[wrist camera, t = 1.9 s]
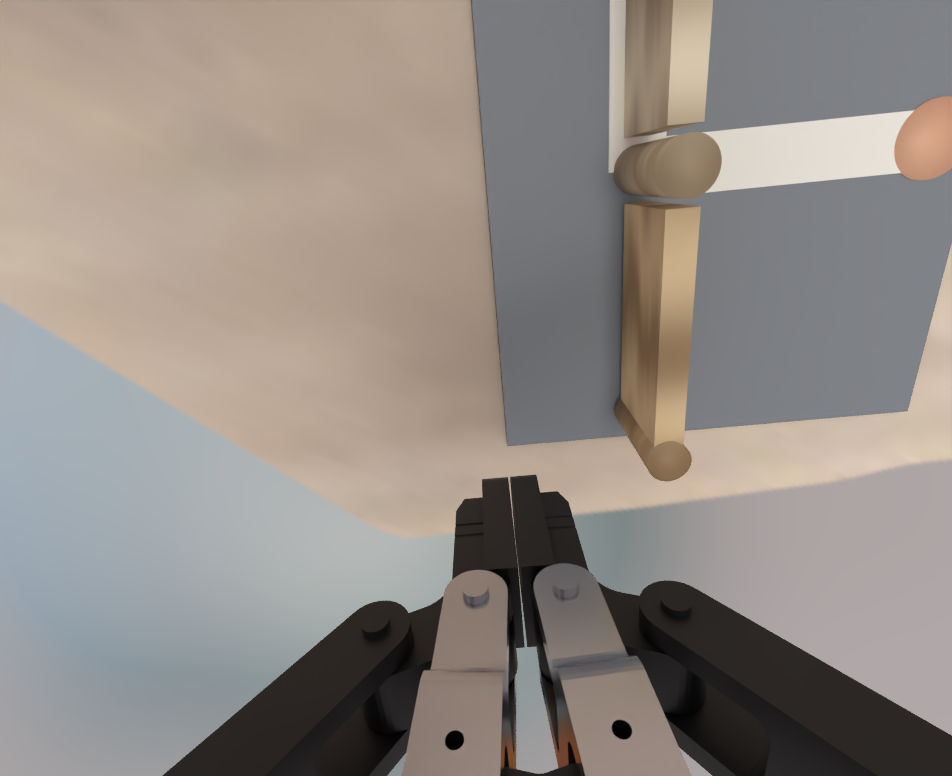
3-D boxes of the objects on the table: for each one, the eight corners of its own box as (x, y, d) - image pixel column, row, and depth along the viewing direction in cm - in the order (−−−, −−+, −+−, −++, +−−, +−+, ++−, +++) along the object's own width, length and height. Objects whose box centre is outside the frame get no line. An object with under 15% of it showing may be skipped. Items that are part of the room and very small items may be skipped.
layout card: (453, -221, 17) (452, -232, 17) (1082, -301, 17) (1101, -315, 16) (507, 442, 27) (507, 447, 27) (901, 407, 26) (909, 412, 26)
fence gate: (617, 204, 22) (658, 210, 17) (658, 200, 22) (712, 205, 17) (614, 427, 26) (647, 483, 21) (649, 423, 26) (690, 479, 21)
